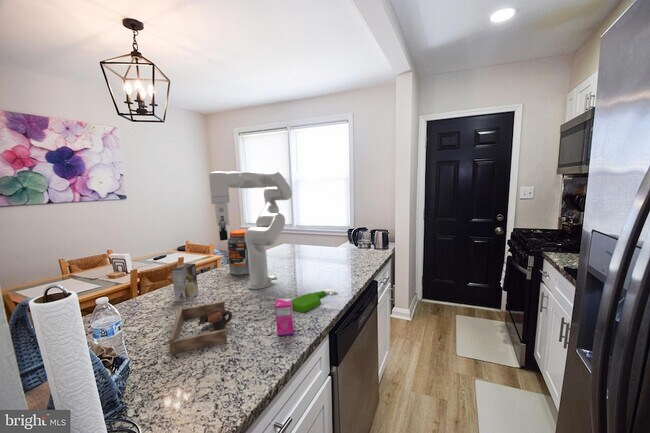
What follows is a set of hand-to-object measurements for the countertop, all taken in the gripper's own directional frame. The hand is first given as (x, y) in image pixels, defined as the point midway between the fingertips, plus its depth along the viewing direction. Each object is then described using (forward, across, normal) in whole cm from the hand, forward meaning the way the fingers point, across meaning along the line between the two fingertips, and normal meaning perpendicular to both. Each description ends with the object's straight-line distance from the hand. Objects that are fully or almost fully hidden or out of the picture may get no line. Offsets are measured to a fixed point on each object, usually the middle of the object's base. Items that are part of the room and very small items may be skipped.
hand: (223, 238), depth 121 cm
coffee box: (+31, +16, +19) cm, 39 cm away
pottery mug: (+31, -22, +5) cm, 38 cm away
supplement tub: (+31, +45, -10) cm, 55 cm away
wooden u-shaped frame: (+30, -20, +11) cm, 38 cm away
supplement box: (+31, -36, -18) cm, 50 cm away
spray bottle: (+31, -16, -36) cm, 50 cm away
